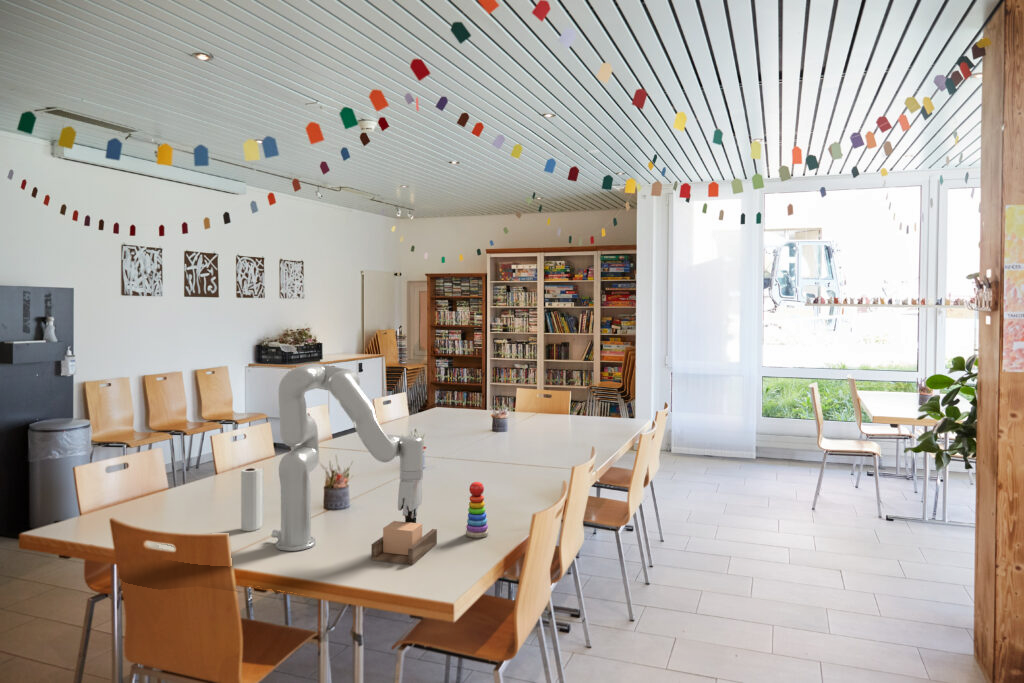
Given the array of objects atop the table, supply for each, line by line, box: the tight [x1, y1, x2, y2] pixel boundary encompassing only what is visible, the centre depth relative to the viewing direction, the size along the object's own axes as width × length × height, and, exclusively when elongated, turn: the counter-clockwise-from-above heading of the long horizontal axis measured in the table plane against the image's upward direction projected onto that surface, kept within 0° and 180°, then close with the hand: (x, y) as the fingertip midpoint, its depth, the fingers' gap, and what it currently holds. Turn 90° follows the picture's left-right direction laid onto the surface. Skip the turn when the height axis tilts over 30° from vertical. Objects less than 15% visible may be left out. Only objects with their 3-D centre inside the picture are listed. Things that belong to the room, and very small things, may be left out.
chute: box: [370, 528, 438, 566], centre depth 221 cm, size 14×20×5 cm
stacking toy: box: [465, 481, 489, 539], centre depth 238 cm, size 8×8×19 cm
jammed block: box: [382, 520, 423, 555], centre depth 219 cm, size 10×8×8 cm
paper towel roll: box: [240, 467, 265, 532], centre depth 241 cm, size 7×6×21 cm
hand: (410, 529), depth 225 cm, fingers closed
